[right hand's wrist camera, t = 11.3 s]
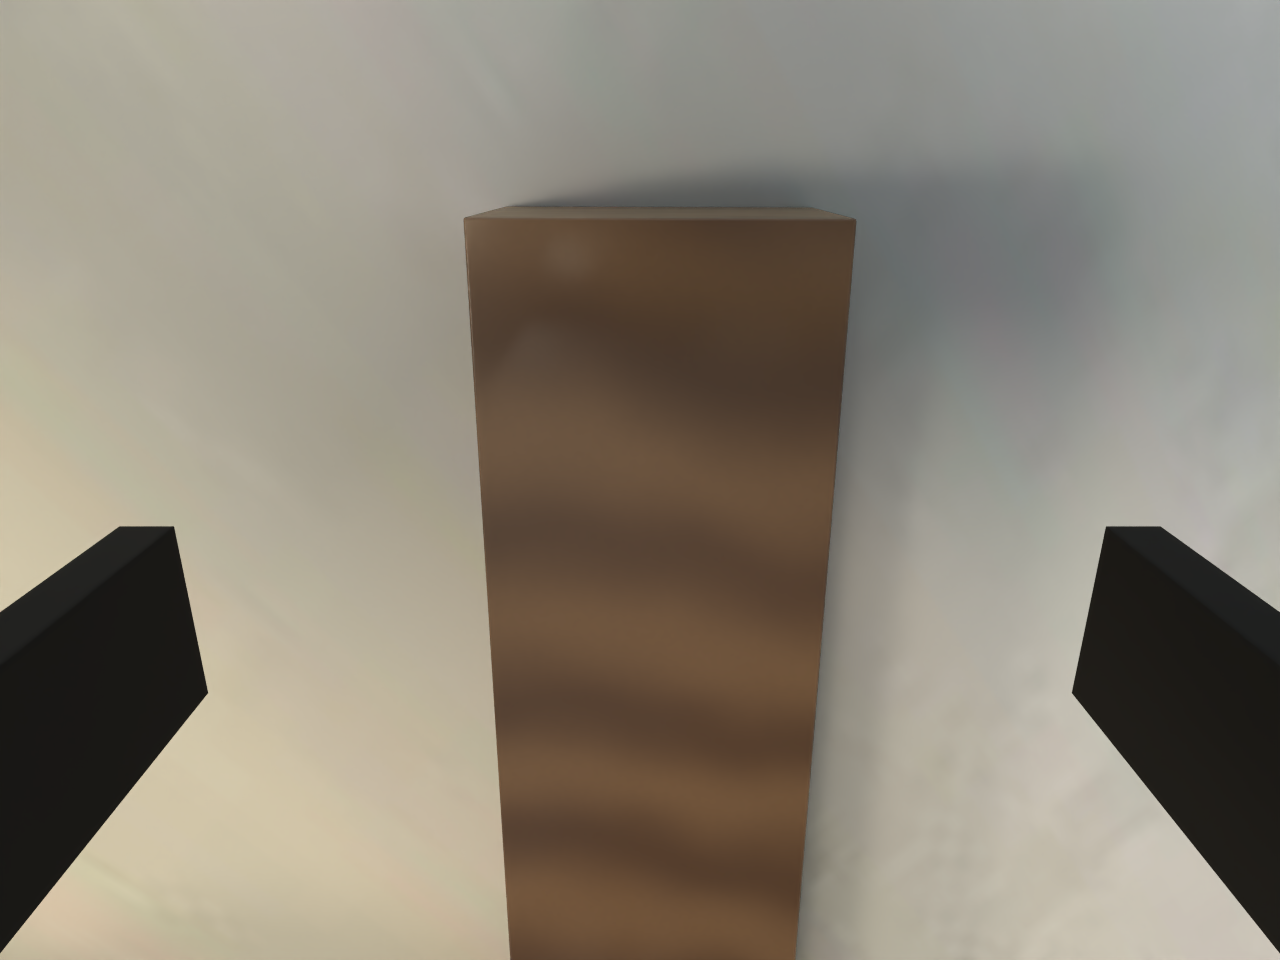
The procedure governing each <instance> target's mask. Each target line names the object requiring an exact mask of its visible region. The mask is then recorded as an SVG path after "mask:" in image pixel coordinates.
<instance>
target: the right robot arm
mask: <svg viewBox="0 0 1280 960" xmlns="http://www.w3.org/2000/svg"><path fill="white" fill-rule="evenodd" d="M207 694H208V690H207V685H206V680H205V676H204V671H203V666H202V661H201V656H200V651H199V646H198V641H197V637H196V632H195V627H194V622H193V617H192V612H191V607H190V602H189V598H188V593H187V588H186V583H185V578H184V573H183V568H182V563H181V559H180V554H179V549H178V544H177V539H176V534H175V529H174V527H118V528H117V529H115V530H114V531H113V532H111V533H110V534H108V535H107V536H106V537H104V538H103V539H101V540H100V541H99V542H97V543H96V544H95V545H93V546H92V547H90V548H89V549H88V550H86V551H85V552H83V553H82V554H81V555H79V556H78V557H76V558H75V559H74V560H72V561H71V562H69V563H68V564H67V565H65V566H64V567H63V568H61V569H60V570H58V571H57V572H56V573H54V574H53V575H51V576H50V577H49V578H47V579H46V580H44V581H43V582H42V583H40V584H39V585H37V586H36V587H35V588H33V589H32V590H31V591H29V592H28V593H26V594H25V595H24V596H22V597H21V598H19V599H18V600H17V601H15V602H14V603H12V604H11V605H10V606H8V607H7V608H6V609H4V610H3V611H1V612H0V953H1V952H2V950H3V949H4V948H5V947H6V945H7V944H8V943H9V942H10V940H11V939H12V938H13V937H14V935H15V934H16V933H17V931H18V930H19V929H20V928H21V926H22V925H23V924H24V923H25V921H26V920H27V919H28V918H29V916H30V915H31V914H32V913H33V911H34V910H35V909H36V908H37V906H38V905H39V904H40V903H41V901H42V900H43V899H44V898H45V896H46V895H47V894H48V893H49V891H50V890H51V889H52V888H53V886H54V885H55V884H56V883H57V881H58V880H59V879H60V878H61V876H62V875H63V874H64V873H65V871H66V870H67V869H68V868H69V866H70V865H71V864H72V863H73V861H74V860H75V859H76V858H77V856H78V855H79V854H80V853H81V851H82V850H83V849H84V848H85V846H86V845H87V844H88V843H89V841H90V840H91V839H92V838H93V836H94V835H95V834H96V833H97V831H98V830H99V829H100V828H101V826H102V825H103V824H104V823H105V821H106V820H107V819H108V818H109V816H110V815H111V814H112V813H113V811H114V810H115V809H116V808H117V806H118V805H119V804H120V803H121V801H122V800H123V799H124V798H125V796H126V795H127V794H128V793H129V791H130V790H131V789H132V788H133V786H134V785H135V784H136V783H137V781H138V780H139V779H140V778H141V776H142V775H143V774H144V773H145V771H146V770H147V769H148V768H149V766H150V765H151V764H152V763H153V761H154V760H155V759H156V758H157V756H158V755H159V754H160V753H161V751H162V750H163V749H164V747H165V746H166V745H167V744H168V742H169V741H170V740H171V739H172V737H173V736H174V735H175V734H176V732H177V731H178V730H179V729H180V727H181V726H182V725H183V724H184V722H185V721H186V720H187V719H188V717H189V716H190V715H191V714H192V712H193V711H194V710H195V709H196V707H197V706H198V705H199V704H200V702H201V701H202V700H203V699H204V697H205V696H206V695H207ZM1072 694H1073V695H1074V696H1075V697H1076V699H1077V700H1078V701H1079V702H1080V704H1081V705H1082V706H1083V707H1084V709H1085V710H1086V711H1087V712H1088V714H1089V715H1090V716H1091V717H1092V719H1093V720H1094V721H1095V722H1096V724H1097V725H1098V726H1099V727H1100V729H1101V730H1102V731H1103V732H1104V734H1105V735H1106V736H1107V737H1108V739H1109V740H1110V741H1111V742H1112V744H1113V745H1114V746H1115V747H1116V749H1117V750H1118V751H1119V753H1120V754H1121V755H1122V756H1123V758H1124V759H1125V760H1126V761H1127V763H1128V764H1129V765H1130V766H1131V768H1132V769H1133V770H1134V771H1135V773H1136V774H1137V775H1138V776H1139V778H1140V779H1141V780H1142V781H1143V783H1144V784H1145V785H1146V786H1147V788H1148V789H1149V790H1150V791H1151V793H1152V794H1153V795H1154V796H1155V798H1156V799H1157V800H1158V801H1159V803H1160V804H1161V805H1162V806H1163V808H1164V809H1165V810H1166V811H1167V813H1168V814H1169V815H1170V816H1171V818H1172V819H1173V820H1174V821H1175V823H1176V824H1177V825H1178V826H1179V828H1180V829H1181V830H1182V831H1183V833H1184V834H1185V835H1186V836H1187V838H1188V839H1189V840H1190V841H1191V843H1192V844H1193V845H1194V846H1195V848H1196V849H1197V850H1198V851H1199V853H1200V854H1201V855H1202V856H1203V858H1204V859H1205V860H1206V861H1207V863H1208V864H1209V865H1210V866H1211V868H1212V869H1213V870H1214V871H1215V873H1216V874H1217V875H1218V876H1219V878H1220V879H1221V880H1222V881H1223V883H1224V884H1225V885H1226V886H1227V888H1228V889H1229V890H1230V891H1231V893H1232V894H1233V895H1234V896H1235V898H1236V899H1237V900H1238V901H1239V903H1240V904H1241V905H1242V906H1243V908H1244V909H1245V910H1246V911H1247V913H1248V914H1249V915H1250V916H1251V918H1252V919H1253V920H1254V921H1255V923H1256V924H1257V925H1258V926H1259V928H1260V929H1261V930H1262V931H1263V933H1264V934H1265V935H1266V937H1267V938H1268V939H1269V940H1270V942H1271V943H1272V944H1273V945H1274V947H1275V948H1276V949H1277V950H1278V952H1279V953H1280V612H1279V611H1277V610H1276V609H1274V608H1273V607H1272V606H1270V605H1269V604H1268V603H1266V602H1265V601H1263V600H1262V599H1261V598H1259V597H1258V596H1256V595H1255V594H1254V593H1252V592H1251V591H1249V590H1248V589H1247V588H1245V587H1244V586H1243V585H1241V584H1240V583H1238V582H1237V581H1236V580H1234V579H1233V578H1231V577H1230V576H1229V575H1227V574H1226V573H1224V572H1223V571H1222V570H1220V569H1219V568H1217V567H1216V566H1215V565H1213V564H1212V563H1211V562H1209V561H1208V560H1206V559H1205V558H1204V557H1202V556H1201V555H1199V554H1198V553H1197V552H1195V551H1194V550H1192V549H1191V548H1190V547H1188V546H1187V545H1185V544H1184V543H1183V542H1181V541H1180V540H1179V539H1177V538H1176V537H1174V536H1173V535H1172V534H1170V533H1169V532H1167V531H1166V530H1165V529H1163V528H1162V527H1106V529H1105V534H1104V539H1103V544H1102V549H1101V554H1100V559H1099V563H1098V568H1097V573H1096V578H1095V583H1094V588H1093V593H1092V598H1091V602H1090V607H1089V612H1088V617H1087V622H1086V627H1085V632H1084V637H1083V641H1082V646H1081V651H1080V656H1079V661H1078V666H1077V671H1076V676H1075V680H1074V685H1073V690H1072Z"/></svg>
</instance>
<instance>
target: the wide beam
mask: <svg viewBox="0 0 1280 960" xmlns="http://www.w3.org/2000/svg"><path fill="white" fill-rule="evenodd" d="M855 232H856V219H853V218H850V217H846V216H842V215H838V214H834V213H830V212H827V211H823V210H819V209H815V208H780V207H503V208H499V209H496V210H492V211H488V212H484V213H480V214H477V215H473V216H469V217H466V218H464V233H465V249H466V265H467V281H468V297H469V312H470V328H471V344H472V360H473V376H474V391H475V407H476V423H477V439H478V455H479V471H480V486H481V502H482V518H483V534H484V550H485V565H486V581H487V597H488V613H489V629H490V645H491V660H492V676H493V692H494V708H495V724H496V739H497V755H498V771H499V787H500V803H501V819H502V834H503V850H504V866H505V882H506V898H507V913H508V929H509V945H510V960H795V956H796V943H797V931H798V919H799V907H800V895H801V883H802V871H803V859H804V847H805V835H806V823H807V811H808V799H809V787H810V775H811V763H812V750H813V738H814V726H815V714H816V702H817V690H818V678H819V666H820V654H821V642H822V630H823V618H824V606H825V594H826V582H827V569H828V557H829V545H830V533H831V521H832V509H833V497H834V485H835V473H836V461H837V449H838V437H839V425H840V413H841V401H842V388H843V376H844V364H845V352H846V340H847V328H848V316H849V304H850V292H851V280H852V268H853V256H854V244H855Z"/></svg>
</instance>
